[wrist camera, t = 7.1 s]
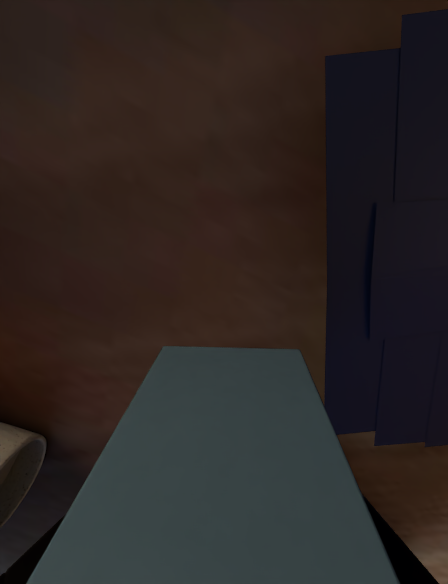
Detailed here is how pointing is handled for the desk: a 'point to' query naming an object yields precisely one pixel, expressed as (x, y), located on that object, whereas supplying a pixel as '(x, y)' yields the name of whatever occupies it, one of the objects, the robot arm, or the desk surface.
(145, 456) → the tabbed grey block
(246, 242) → the desk surface
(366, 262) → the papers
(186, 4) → the desk surface
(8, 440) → the ceramic mug
